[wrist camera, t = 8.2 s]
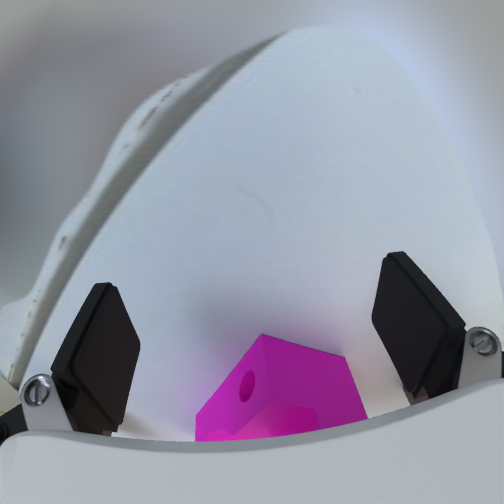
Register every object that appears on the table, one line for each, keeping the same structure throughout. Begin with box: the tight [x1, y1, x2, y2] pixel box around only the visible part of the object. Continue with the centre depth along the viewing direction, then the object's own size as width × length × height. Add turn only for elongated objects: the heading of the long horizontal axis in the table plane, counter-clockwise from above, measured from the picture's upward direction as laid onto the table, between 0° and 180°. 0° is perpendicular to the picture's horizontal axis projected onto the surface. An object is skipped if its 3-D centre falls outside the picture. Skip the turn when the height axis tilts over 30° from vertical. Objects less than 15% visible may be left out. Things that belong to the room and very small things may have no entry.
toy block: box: [195, 334, 368, 442], centre depth 16 cm, size 15×6×8 cm, turn 152°
